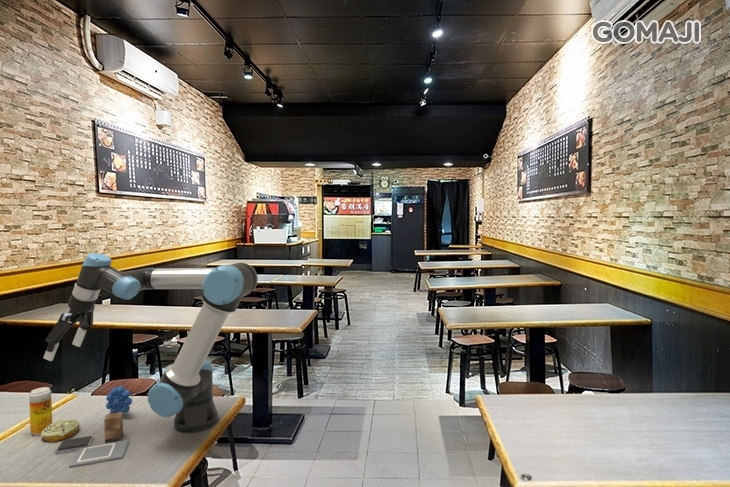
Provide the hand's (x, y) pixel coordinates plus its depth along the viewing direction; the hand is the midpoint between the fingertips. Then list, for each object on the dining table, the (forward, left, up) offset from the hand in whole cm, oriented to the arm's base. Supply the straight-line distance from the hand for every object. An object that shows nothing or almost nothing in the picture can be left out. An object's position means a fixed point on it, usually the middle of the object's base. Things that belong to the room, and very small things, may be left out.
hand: (62, 352), depth 144 cm
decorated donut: (+1, 0, -29) cm, 30 cm away
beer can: (+8, -5, -29) cm, 31 cm away
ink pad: (-6, +11, -29) cm, 31 cm away
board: (-15, +19, -29) cm, 38 cm away
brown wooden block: (-17, +10, -29) cm, 35 cm away
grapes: (-16, -9, -29) cm, 34 cm away
